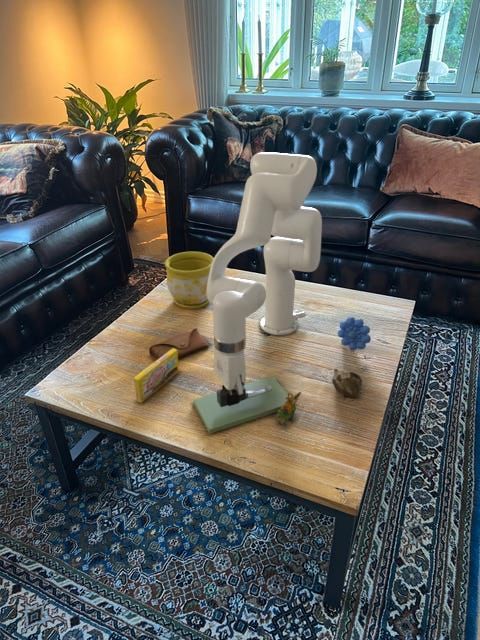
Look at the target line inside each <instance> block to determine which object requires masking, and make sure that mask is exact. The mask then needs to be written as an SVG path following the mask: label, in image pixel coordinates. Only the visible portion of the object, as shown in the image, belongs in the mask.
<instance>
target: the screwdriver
mask: <svg viewBox="0 0 480 640" xmlns="http://www.w3.org/2000/svg"><path fill="white" fill-rule="evenodd" d="M233 389H236V386H235V387H234V388H233ZM233 389H232V390H233ZM242 389H243V394H242V395H240V401H243V400H246V399H248V398H251V397H254V396H257V395H261V394H264V393H267V392H270V391H271V390H272V387H271V386H269V385H265V386H262V387H259V388H255V389H252V390H249V391H246V389H245V388H244V386H242ZM216 393H217V402H218V403H219V405H220V407H224V406H227V405H228V400H227V393H229V390H227V389H226V388H224V389H222V388H220V389H218V390H216Z"/></svg>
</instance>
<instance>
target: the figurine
mask: <svg viewBox="0 0 480 640" xmlns="http://www.w3.org/2000/svg"><path fill="white" fill-rule="evenodd" d="M287 394H288V397H286V400H287V399H288V400H287V401H286V402H285V404H284V405H283V406H282V407H281V409H280V411H279V410H278V411H277V412H276V417H275V419H276V420H275V421H276V422H277V421H280V422H278V424H279V425H282V424H283V423H285V424H284V425H283V428H284V427H285V428H286V427H287V425H288V423H289V420H290V421H292V422H293V420H294V416H295V415H296V414H295V413H296V403H297V401H298V399H299V397H300V396H301V394H302V391H298V393H296V394H294V395H293V393H291V392H288V393H287ZM289 396H290V397H289ZM290 399H291V400H290ZM284 421H285V422H284Z"/></svg>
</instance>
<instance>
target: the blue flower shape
mask: <svg viewBox="0 0 480 640" xmlns="http://www.w3.org/2000/svg"><path fill="white" fill-rule="evenodd" d="M364 322H365V321H364V319H362V318H356V319H355V318H354V316H348V317H347V318H346V319H345V320H343V321H341V322H340V323H339V330H338V332H337V336H338V337H339V338H341V345H343V347H344V346H345V347H347V346H348V349H349V350H350V351H352V352H354V351H356V350H360V351H362V350H365V349H366V347H367V344H369V343H370V342H371V340H372V338H371V337H372V336H371V335H369V334H370V332H371V328H370V326H369V325H367V324H366V325H364V324H365V323H364Z"/></svg>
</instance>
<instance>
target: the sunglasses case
mask: <svg viewBox="0 0 480 640" xmlns="http://www.w3.org/2000/svg"><path fill="white" fill-rule="evenodd" d="M210 346H211V345H210V343H209V342H207V341H206V339H205V338H204V337H203V335H202V334H201V333H200V331H199V330H198V327H195V328H193V329H191V330H189V331H185V332H183V333H180V334H178V335H176V336H173V337H171V338H168V339H166V340H163V341H161V342H159V343H156V344H153V345H151V346H150V347H149V349H148V352H149V355H150V357H151V358H152V359H153V360H154V362H155V361H157V360H158V359H159V358H161V357H162V356H163V355H164V354H166V353H167V352H168V351H170V350H171V349H172V348H174V349H176V350H177V353H178V360H179V359H181V358H184V357H187V356H188V355H192V354H193V353H196V352H198V351H200V350H203V349H204V348H208V347H210Z"/></svg>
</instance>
